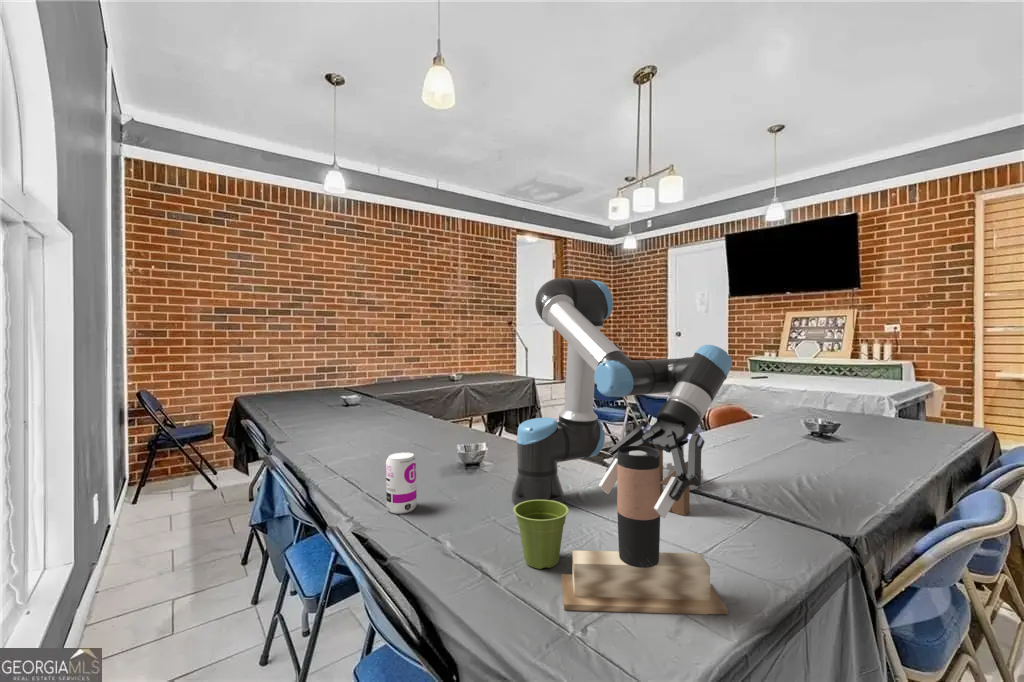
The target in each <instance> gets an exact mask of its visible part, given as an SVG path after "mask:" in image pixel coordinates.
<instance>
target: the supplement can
mask: <svg viewBox="0 0 1024 682" xmlns="http://www.w3.org/2000/svg"><path fill="white" fill-rule="evenodd" d="M385 469H386V470H385V472H386V473H385V486H386V490H385V491H386V492H385V493H386V499H385V500H386V511H388V512H389V513H392V514H395V515H396V514H397V515H399V514H400V515H402V514H406V513H411V512H412V511H414V509H415V508H416V507H417V506H418V504H417V502H418V501H417V500H418V499H417V497H418V495H417V458H416V457H415V455H414V453H412V452H408V451H407V452H403V451H402V452H394V453H391V454H389V455H388V457H387V459H386V461H385Z"/></svg>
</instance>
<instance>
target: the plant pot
mask: <svg viewBox="0 0 1024 682" xmlns="http://www.w3.org/2000/svg"><path fill="white" fill-rule="evenodd" d="M512 511H513V514H514V515H515V516H516V520H517V524H518V528H519V534H520V538H521V540H520V541H521V545H522V546H521V547H522V551H523V557H524V561H525V563H526V565H528V566H529V567H531V568H534V569H540V570H541V569H543V568H548V569H551V568H553V567H555V566H556V565H558V563H559V562H560V561H559V560H560V554H561V546H562V539H563V531H564V526H565V524H566V518H567V515H568V514H569V512H570V509H569V507H568V506H567V504H564V503H560V502H557V501H552V500H529V501H524V502H521V503H519V504H517V505H514V507H513V509H512Z"/></svg>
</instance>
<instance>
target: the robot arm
mask: <svg viewBox="0 0 1024 682" xmlns="http://www.w3.org/2000/svg"><path fill="white" fill-rule="evenodd" d="M534 304H535V310H536V313H537V315H538V317H540V319H541V320H542V321H543V322H544V324H545V325H547V326H548V327H554V328H555V330H556V331H557V332H558V333H559V334H560V335H561V336H562V338H563V339H564V340H565V341H566V342H567V352H566V372H565V373H566V374H565V390H564V391H565V393H564V408H563V409H562V410H561V411H560V412H559V414H558V421H557V420H556V419H555V418H553V417H535V418H531V419H530V418H529V419H526V420H524V421H522V422H521V423H520V424H519V426H518V427H517V434H516V435H517V436H516V443H517V446H516V447H517V455H516V456H517V475H516V478H515V482H514V485H513V488H512V490H511V502H512V504H514V506H516V505H517V504H519V503H521V502H524V501H529V500H552V501H557V502H560V503H562V504H564V502H565V499H564V497H565V496H564V491H563V487H562V484H561V481H560V478H559V475H558V474H559V473H558V463H561V462H562V463H563V462H569V461H576V460H586V459H588V458H592V457H596V456H597V455H599V454H600V452H601V451H602V449H603V448H604V445H605V439H606V432H605V430H604V425H603V424H602V422H601V421H600V420H599V419H598V418H599V416H598V415H597V414H596V412H595V411H594V401H595V400H594V399H595V398H594V397H595V385H596V389H597V390H598V392H599V393H600V395H602V396H604V397H609V398H610V397H613V398H614V397H615V398H624V397H630V396H631V397H632V396H641V395H655V394H667V393H670V394H668V396H667V398H666V401H665V402H664V403H663V405H662V406H661V407H660V410H658V413H657V414H656V416H657V417H656V422H654V424H652V425H651V424H648V423H647V422H646V420H642V421H640V423H639V424H638V425H637V427H636V428H634V429H633V430H632V431H631V432H630V433H628V434H627V435H626V436H625V437H623V438H622V439H621V440H619V441H618V442H617V443H616V444H614V445H613V446H612V447H610V449H608V453H609V455H610V456H612V459H611V461H610V463H609V464H608V466H607V468H606V469H605V472H606V473H605V474H604V476H603V478H602V479H601V481H600V483H599V484H598V487H600V488H601V491H603V492H604V493H605V494H607V495H609V494H610V493H611V491H612V489H613V488H614V487H615V485H616V483H617V463H618V462H617V460H618V449H619V448H621V447H624V446H644V447H650V448H654V449H657V450H663V452H664V451H665V452H666V453H669V454H671V456H672V460H673V465H674V466H675V470H676V474H677V475H676V474H675V475H676V477H677V478H678V479H676V478H675V477H671V479H670V480H669V482H668V484H667V486H666V485H665V488H663V493H662V494H661V496H660V498H659V500H658V501H657V503H656V505H655V507H654V509H655V510H656V511H657V513H658V514H659V515H660V518H663V519H666V517H667V516H668V514H669V510H670V508H671V507H672V505H673V503H674V501H678V500H679V499H680V497H681V496H682V494H683V492H684V490H685V488H686V487H688V486H689V485H695V486H696V487H698V486H700V487H701V484H702V480H701V469H702V449H703V447H704V445H705V440H704V439H703V437H702V435H700V433H699V432H698V431H696V430H697V429H698V427H699V426H700V424H701V422H702V421H701V420H702V419H703V418H704V416H705V415H706V413H707V411H708V409H710V408H709V407H710V406H711V405H712V402H713V401H714V399H715V398H716V395H717V394H719V393H718V392H719V390H720V389H721V387H722V386H723V384H724V382H725V381H726V380H727V378H728V375H729V373H730V371H731V368H733V367H732V366H733V360H732V358H731V356H730V355H729V354H728V352H727V351H726V350H724V349H723V348H721V347H719V346H716V345H713V344H704V345H702V346H699V348H698V349H697V350H696V351H695V352H694V354H693V356H689V357H682V358H681V357H679V358H661V359H659V358H657V359H635V360H632V359H631V358H629V357H628V356H627V355H626V354H625V353H624V352H623V351H622V350H621V349H620V348H619V347H618V346H617V345H615V344H614V343H613V342H612V341H611V340H610V339H609V338H608V336H606V335H605V334H604V333H603V332H602V331H601V329H602V328H603V327H604V320H607V319H608V318H609V317H610V316H611V314H612V312H613V310H614V298H613V295H612V292H611V289H610V288H609V287H608V286H607V284H605V282H603V281H600V280H593V279H578V278H577V279H576V278H553V279H550V280H549V281H546V282H544V283H543V285H542V286H541V287H540V288H539V290H538V291H537V293H536V295H535V303H534ZM650 442H651V443H650ZM686 444H688V449H687V450H688V451H687V453H688V456H687V457H688V459H687V461H688V473H687V469H686V465H685V458H684V457H685V453H683V450H682V446H683V445H684V446H685V445H686ZM683 456H684V457H683Z"/></svg>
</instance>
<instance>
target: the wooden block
mask: <svg viewBox="0 0 1024 682" xmlns="http://www.w3.org/2000/svg"><path fill="white" fill-rule="evenodd" d="M649 442H650V443H651V441H649ZM656 450H657V449H656ZM658 451H659V453H660V455H659V462H660V465H659V466H660V496H661V494H662V493H663V491H664V486H666V485H667V484H668V482H669V480H670V479H671V477H675V478H676V479H678V478H677V477H676V475H677V474H676V470H675V471H674V472H672V473H671V474H670V475H669V476H668V477H666V478H665V479H664V480H663V465H664V450H658ZM685 465H686V469H687V473H688V460H687V461H686V462H685ZM675 474H676V475H675ZM689 486H690V485H689ZM689 486H688V487H686V488H685V490H684V492H683V494H682V496H681V497H680V499H679V500H678V501H674V503H673V505H672V507H671V508H670V510H669V512H670V513H673V514H676V515H679V514H680V516H687V515H688V514H689V513H690V499H691V498H690V491H691V490H690V489H689ZM669 512H668V513H669Z"/></svg>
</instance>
